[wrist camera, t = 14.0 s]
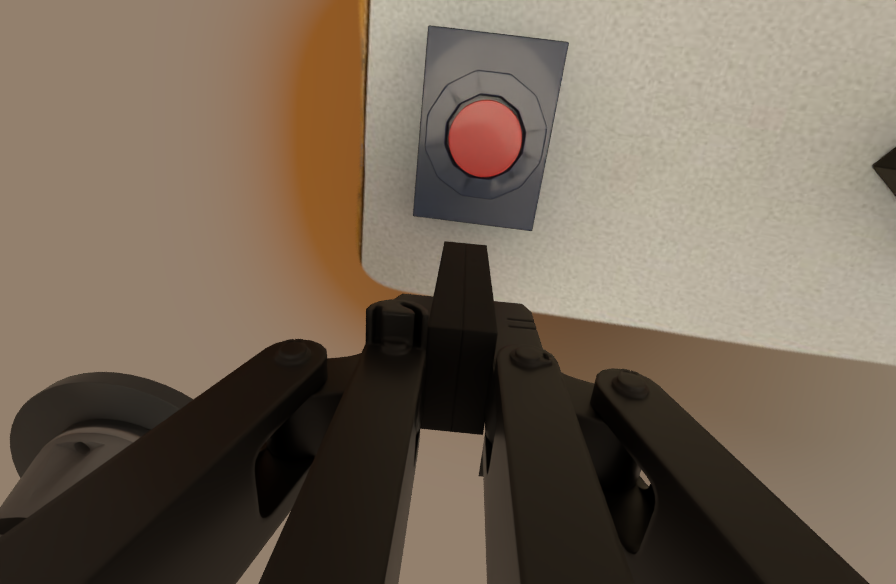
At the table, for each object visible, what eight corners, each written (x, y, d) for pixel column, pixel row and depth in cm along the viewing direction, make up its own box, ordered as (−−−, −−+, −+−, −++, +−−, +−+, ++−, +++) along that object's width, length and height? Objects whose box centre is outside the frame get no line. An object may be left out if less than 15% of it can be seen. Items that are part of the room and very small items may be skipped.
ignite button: (512, 177, 26) (515, 181, 24) (447, 168, 26) (444, 172, 24) (525, 104, 24) (528, 104, 23) (454, 96, 24) (453, 95, 23)
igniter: (528, 223, 30) (535, 238, 27) (417, 209, 30) (408, 222, 27) (562, 47, 26) (576, 37, 22) (431, 31, 26) (424, 18, 22)
